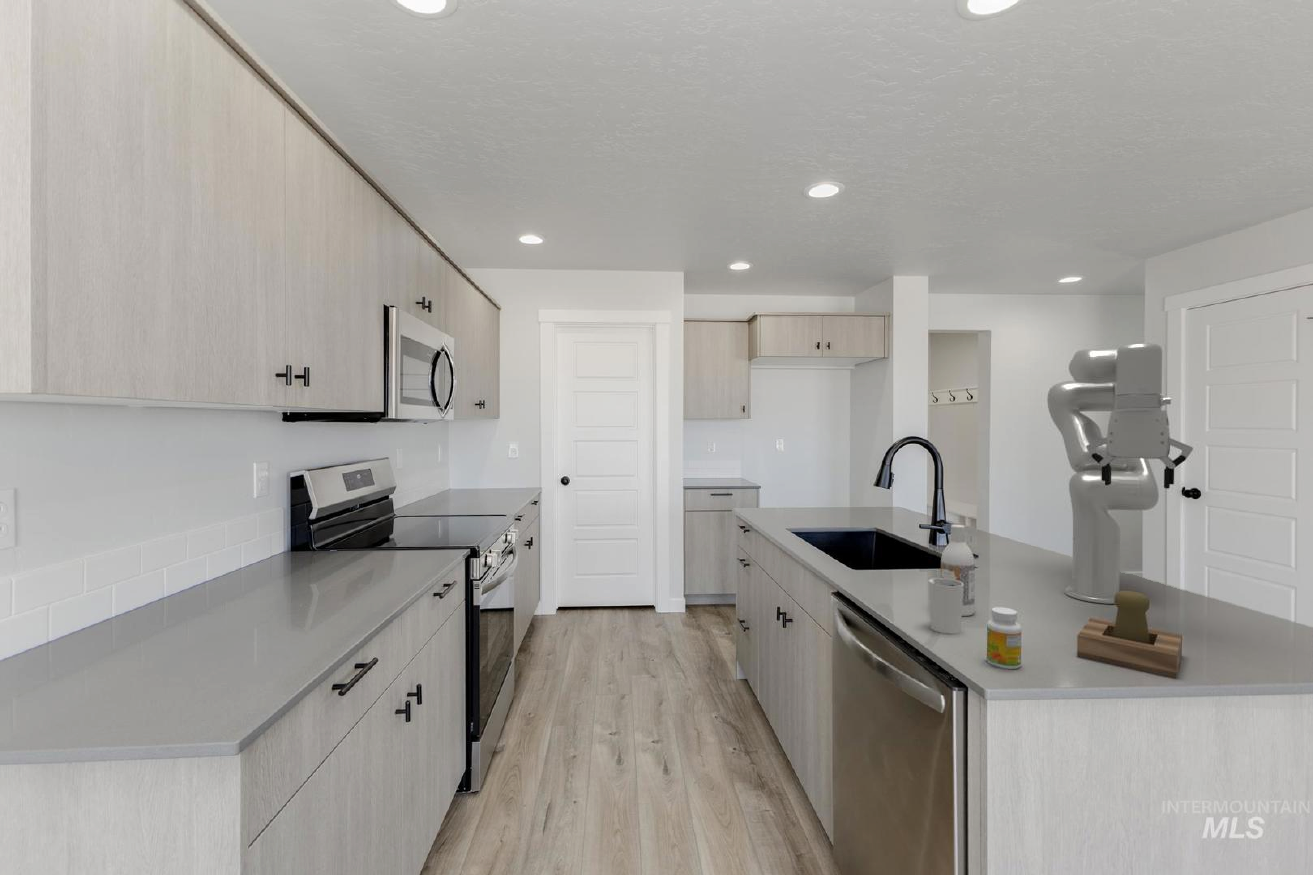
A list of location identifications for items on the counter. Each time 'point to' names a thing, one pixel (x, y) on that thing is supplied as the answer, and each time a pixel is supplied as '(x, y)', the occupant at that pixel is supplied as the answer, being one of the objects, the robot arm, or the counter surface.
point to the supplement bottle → (1004, 639)
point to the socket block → (1131, 649)
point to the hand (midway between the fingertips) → (1136, 486)
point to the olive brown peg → (1131, 616)
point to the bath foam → (960, 566)
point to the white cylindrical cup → (945, 605)
